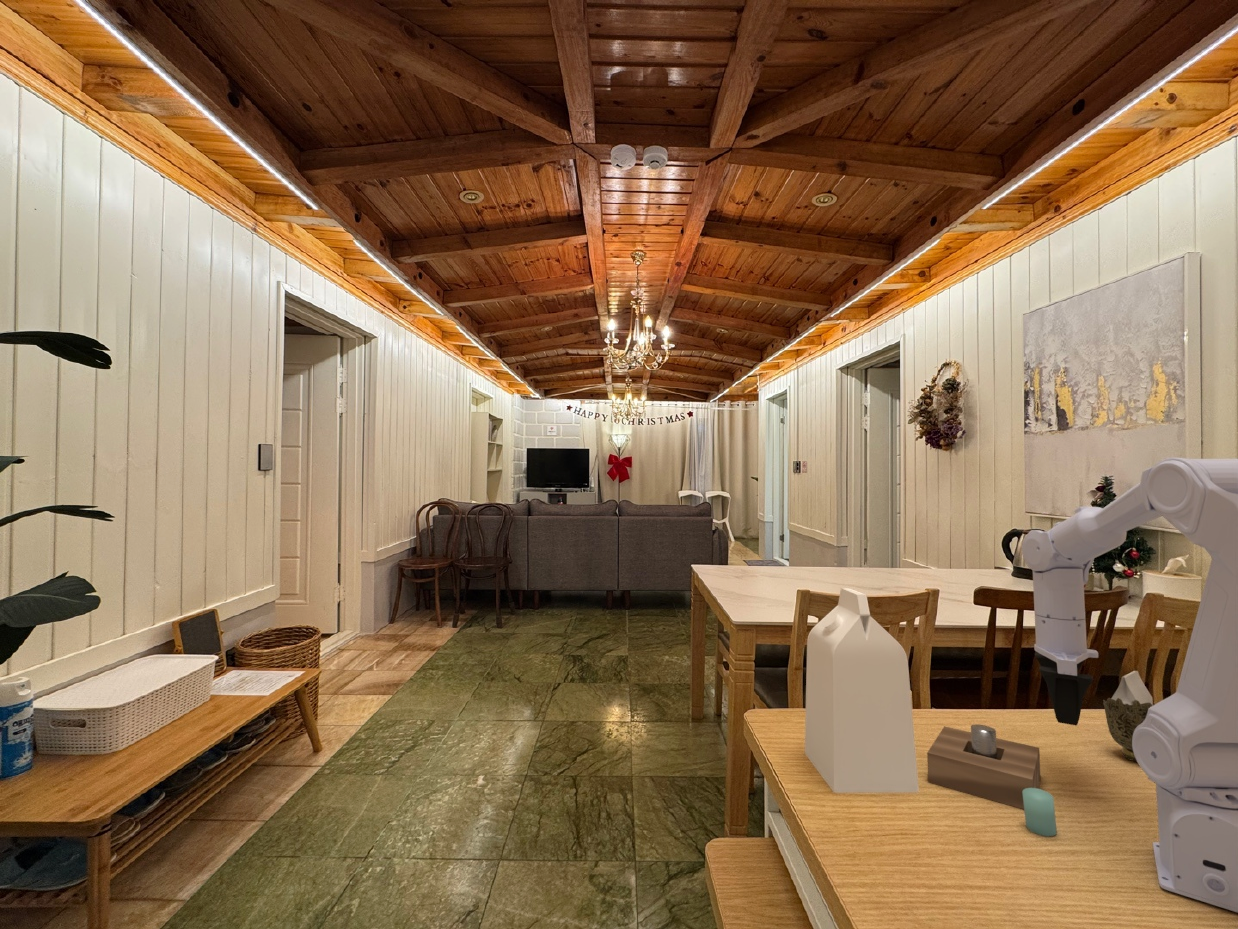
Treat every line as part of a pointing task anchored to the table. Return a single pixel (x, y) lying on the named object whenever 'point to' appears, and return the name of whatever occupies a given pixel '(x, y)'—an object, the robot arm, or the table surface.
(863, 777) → the milk
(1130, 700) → the grey wedge block
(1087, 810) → the table surface
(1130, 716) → the cup
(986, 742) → the tall pin
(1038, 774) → the hole block
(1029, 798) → the short pin
